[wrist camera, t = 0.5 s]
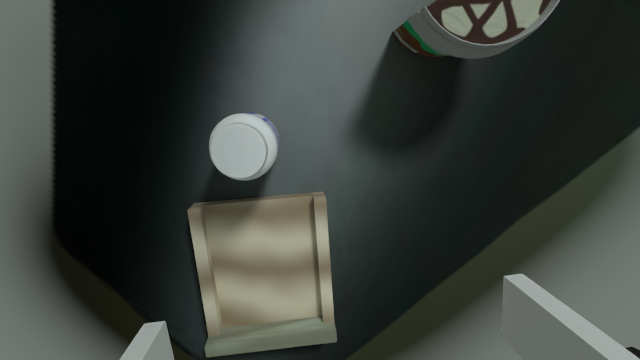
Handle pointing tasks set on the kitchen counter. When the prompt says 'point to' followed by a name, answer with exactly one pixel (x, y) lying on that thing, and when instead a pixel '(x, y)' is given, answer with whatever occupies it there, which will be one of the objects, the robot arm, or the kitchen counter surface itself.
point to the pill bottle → (244, 145)
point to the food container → (471, 26)
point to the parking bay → (264, 272)
